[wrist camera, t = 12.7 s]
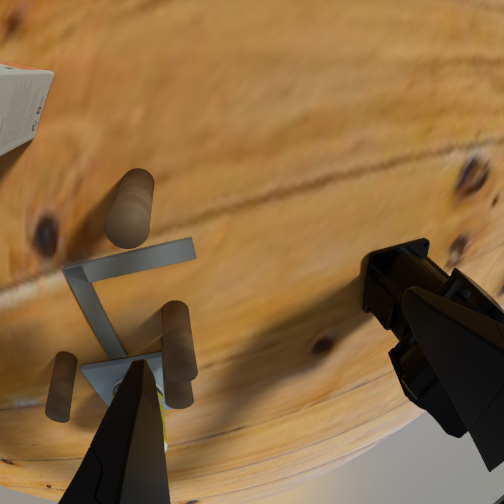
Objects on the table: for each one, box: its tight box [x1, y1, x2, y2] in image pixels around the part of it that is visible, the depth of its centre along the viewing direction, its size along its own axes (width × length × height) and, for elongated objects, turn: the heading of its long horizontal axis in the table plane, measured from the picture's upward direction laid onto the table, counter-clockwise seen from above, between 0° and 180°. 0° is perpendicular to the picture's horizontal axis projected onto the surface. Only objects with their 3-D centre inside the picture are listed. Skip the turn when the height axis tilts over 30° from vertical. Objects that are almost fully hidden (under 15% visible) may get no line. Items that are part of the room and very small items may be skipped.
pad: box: [80, 352, 173, 410], centre depth 27 cm, size 8×8×1 cm
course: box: [45, 168, 198, 423], centre depth 18 cm, size 14×15×6 cm
